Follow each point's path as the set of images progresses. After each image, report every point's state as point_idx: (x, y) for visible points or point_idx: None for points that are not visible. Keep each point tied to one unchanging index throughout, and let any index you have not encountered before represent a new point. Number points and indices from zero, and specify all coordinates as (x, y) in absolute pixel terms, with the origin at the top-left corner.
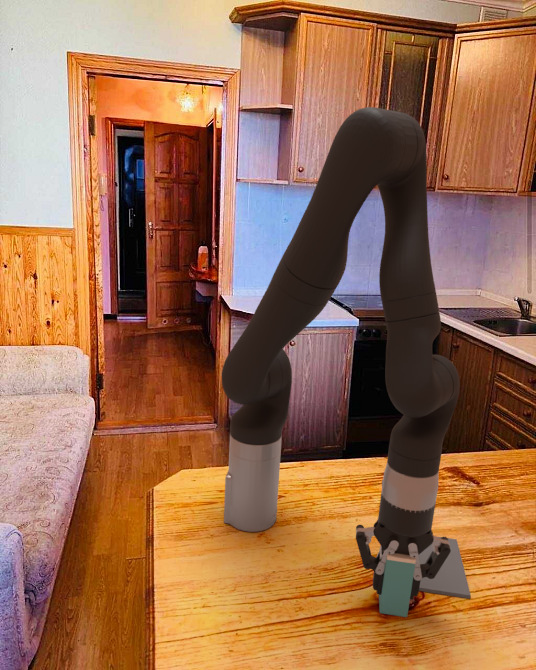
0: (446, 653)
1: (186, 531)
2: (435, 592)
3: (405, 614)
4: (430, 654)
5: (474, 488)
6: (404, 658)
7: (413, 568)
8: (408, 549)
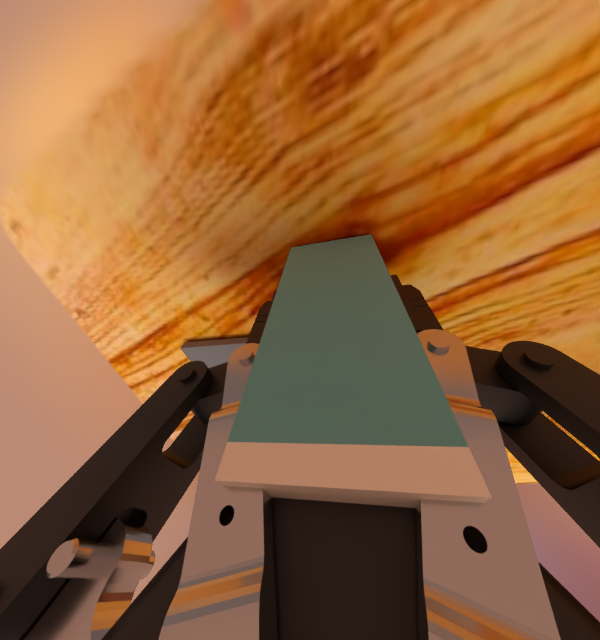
0: (149, 143)
1: None
2: (245, 338)
3: (295, 249)
4: (187, 106)
5: None
6: (264, 9)
7: (247, 400)
8: (280, 583)
